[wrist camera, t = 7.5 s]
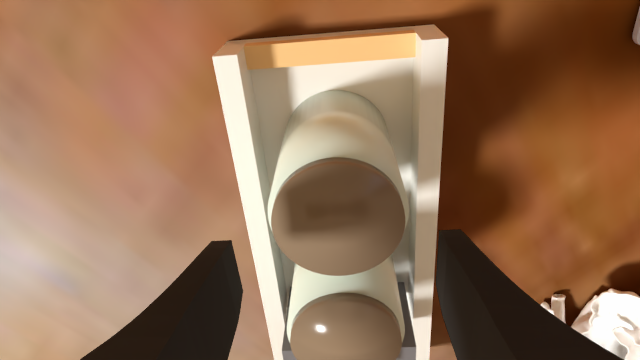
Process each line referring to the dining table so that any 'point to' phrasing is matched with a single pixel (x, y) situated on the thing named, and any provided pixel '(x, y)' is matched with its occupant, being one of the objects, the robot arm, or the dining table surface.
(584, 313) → the white irregular branching piece
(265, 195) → the tray
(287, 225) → the jar
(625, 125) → the dining table surface
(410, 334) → the pusher
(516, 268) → the dining table surface
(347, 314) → the stocked jar
